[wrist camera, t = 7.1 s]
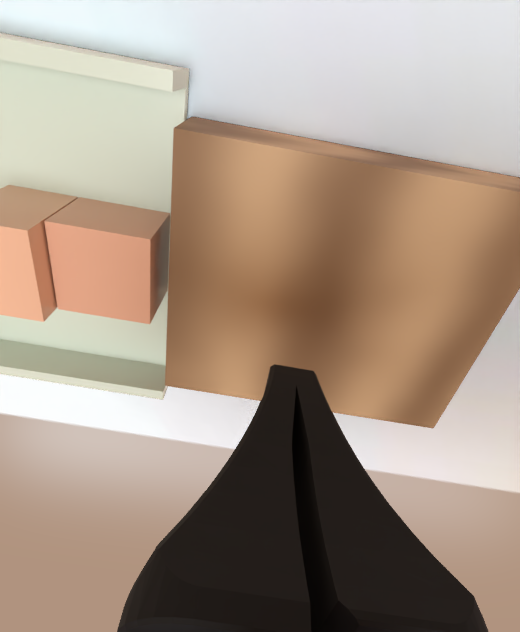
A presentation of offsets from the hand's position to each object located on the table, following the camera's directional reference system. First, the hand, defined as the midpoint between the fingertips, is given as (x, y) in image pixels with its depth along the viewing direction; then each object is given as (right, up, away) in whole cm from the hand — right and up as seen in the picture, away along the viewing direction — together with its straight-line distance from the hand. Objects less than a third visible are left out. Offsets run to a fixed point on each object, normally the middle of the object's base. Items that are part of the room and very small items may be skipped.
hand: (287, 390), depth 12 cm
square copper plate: (+2, +4, +7) cm, 8 cm away
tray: (-11, +6, +6) cm, 14 cm away
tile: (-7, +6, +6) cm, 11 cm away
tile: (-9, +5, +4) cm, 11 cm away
